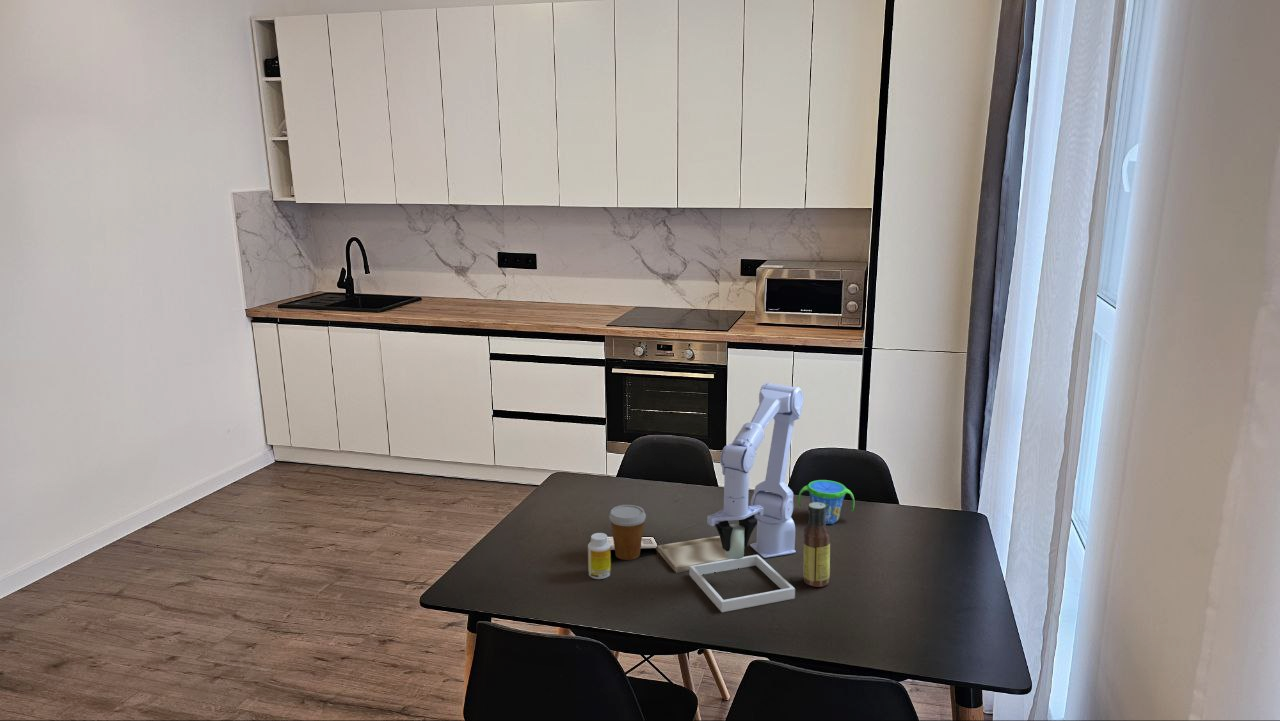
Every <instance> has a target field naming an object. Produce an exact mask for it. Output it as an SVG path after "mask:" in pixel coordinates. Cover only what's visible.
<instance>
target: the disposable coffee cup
mask: <svg viewBox="0 0 1280 721" xmlns="http://www.w3.org/2000/svg"><path fill="white" fill-rule="evenodd" d="M646 518H647V514H646V513H645V510H644V508H642V507H641V506H639V505H638V506H637V505H634V504H621V505H617V506H614V507H613V508H612V509H611V510H610V513H609V515H608V519H609V520H610V524H611V530H612V539H613V546H614V552H615V553H614V554H615V557H616V558H617V559H620V560H622V561H632V560H636V559H638V558H639V557H640V555H641V549H642V548H641V547H642V541H643V532H644V525H645V521H646Z"/></svg>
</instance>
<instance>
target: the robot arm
mask: <svg viewBox="0 0 1280 721" xmlns="http://www.w3.org/2000/svg"><path fill="white" fill-rule="evenodd" d="M758 403H759V404H758V407H757V409H756V410H755V412H754V415H753V417H752V419H751V420H750V422H746V423H744V424H743V425H742V427H741V428H740V430H739V431H738V433H737V434H736V436H735V437H734V439H733V441H732V443H728V444H727V445H725V446H724V447H723V449H722V450H721V453H720V457H719V463H720V467H721V471H722V472H721V473H722V475H723V476H724V477H723V478H724V482H723V484H724V485H723V492H724V493H723V509H721V510H719V511H717V512H714V513H713V514H709V515H707V517H706V518H707V519H706V523H707V524H708V525H709V526H710V527H714V526H715V529H716V531H717V533H718V536H720V539H721V543H722V548H723V549H724V550H725V551H729V550H730V538H731V533H732V530H733V527H731V526H730V523H729V522H731V521H738V525H742V526H743V527H744V528H745V533H744V548H747V547H748V545H749V542H750V541H749V540H750V537H751V536H752V533H753V531H754V529H755V527H756V542H754V543H750V545H749V546H750V547H751V548H752V549H753V550H754V551H755V552H756V553H757V554H758V555H759V556H760V557H761V558H762V559H767V558H773V557H778V556H779V557H780V556H784V555H791V554H796V551H797V550H795V545H796V544H795V543H796V524H795V521H794V520H793V518H792V515H793V511H794V492H793V490H792V489H791V488H790V487H789V486H788V485H787V484H786V482H785V481H786V477H787V476H786V473H787V469H788V462H789V456H790V449H791V443H792V438H793V431H794V426H795V425H794V424H795V421H797V420H799V419H801V415H802V412H803V405H804V404H803V403H804V393H803V391H802V389H801V387H799V386H796V387H795V386H788V385H782V384H778V383H777V384H775V383H770V382H764V383H763V385H761V387H760V390H759V394H758ZM772 420H774V424H773V430H772V435H771V436H772V437H771V443H770V449H769V454H768V462H767V466H766V467H767V468H766V474H765V479H764V481H761V482H760V483H758V484H756V485H755V487H754V491H753V494H752V496H751V499H750V505H749V491H750V490H749V487H750V486H749V485H750V471H751V469H752V468H753V466H754V464H755V463H754V462H755V458H756V455H757V453H756V452H757V450H758V448H759V446H760V445H761V444H762V442H763V440H764V438H765V432H764V430H765V428H766V427H767V426H768V425H770V424H769V423H770V422H771V421H772Z"/></svg>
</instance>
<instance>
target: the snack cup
mask: <svg viewBox="0 0 1280 721" xmlns="http://www.w3.org/2000/svg"><path fill="white" fill-rule="evenodd" d="M806 491H808V492H809V504H810V503H813V502H819V503H823V504H825V506H826V511H825V524H826V525H834V524H835V523H837V522H838V521H839V519H840V515H841V512H842V508H843V503H844V499H845V497H846V494H849V495H850V497H851V500H852V501H851V502H852V503H851V508H850V511H851V512H854V509H855V505H856V504H855V503H856V502H855V497H854V494H853V492H852V491H851V490H850V489H848V488H847V487H846V486H845V485H844V484H843V483H841V482H838V481H834V480H827V479H818V480H817V479H816V480H813V481H810V482H809V483H808V484H807V485H805V486H803V487H802V488H801V489H800V491H799V493H798V496H797V501H798V508H801V507H802V506H801V499H802V493H804V492H806Z"/></svg>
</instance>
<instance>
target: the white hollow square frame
mask: <svg viewBox="0 0 1280 721" xmlns="http://www.w3.org/2000/svg"><path fill="white" fill-rule="evenodd" d="M755 566H756V567H757V568H758V569H759V570H760V571H761V572H762V573H763V574H765V576H767V578H769V579H770V580H771V581H772V582H773V583H774V584H775V585H776V586H777V587H778V588H780V589H775V590H771V591H765V592H760V593H754V594H749V595H744V596H739V597H733V598H727V599H723V598H722V596H721V595H720V594H719V593H718V592H717V591H716V590H715V588H714V587H713V586H712V585H711V584H710V583H709V582H708V581H707V580H706V578H705V577H704V575H708V574H715V573H714V572H716V573H719V572H726V571H733V570H738V568H739V569H743V568H749V567H755ZM703 574H704V575H703ZM689 577H690V578H691V579H692V580H693V582H695V583H696V585H697V586H698V587H699V589H700V590H702V591H703V593H704V594H705V595H706V596H707V597H708V598H709V600H710V601H711V602H712V604H714V605H715V606H716V607H717V609H718V610H719V611H720V612H721V613H726V612H731V611H736V610H743V609H746V608H752V607H757V606H763V605H767V604H773V603H778V602H782V601H788V600H789V601H790V600H794V599H795V598H796V588H795V587H794V586H793V585H792V584H791V583H789V581H787V580H786V579H785V578H784V577H783V576H782V575H781V574H780V573H779V572H777V570H775V569H774V568H773V566H771V565H770V564H768V563H767V561H766V560H765V559H764V558H763V557H762V556H761V555H760V554H753V555H747V556H746V555H745V556H744V557H743V558H741V559H728V560H722V561H716V562H710V563H704V564H698V565H692V566H690V571H689Z"/></svg>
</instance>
